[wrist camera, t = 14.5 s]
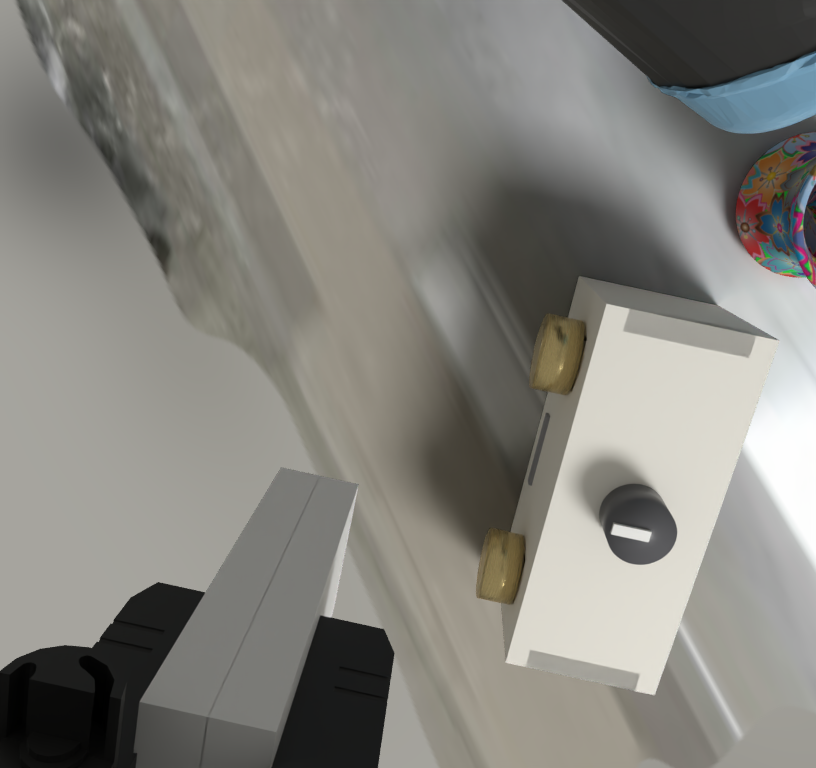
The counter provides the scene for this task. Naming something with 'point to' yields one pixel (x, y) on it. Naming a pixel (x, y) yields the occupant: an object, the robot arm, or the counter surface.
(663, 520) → the dial
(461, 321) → the counter surface
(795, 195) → the mug
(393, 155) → the counter surface
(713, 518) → the console
